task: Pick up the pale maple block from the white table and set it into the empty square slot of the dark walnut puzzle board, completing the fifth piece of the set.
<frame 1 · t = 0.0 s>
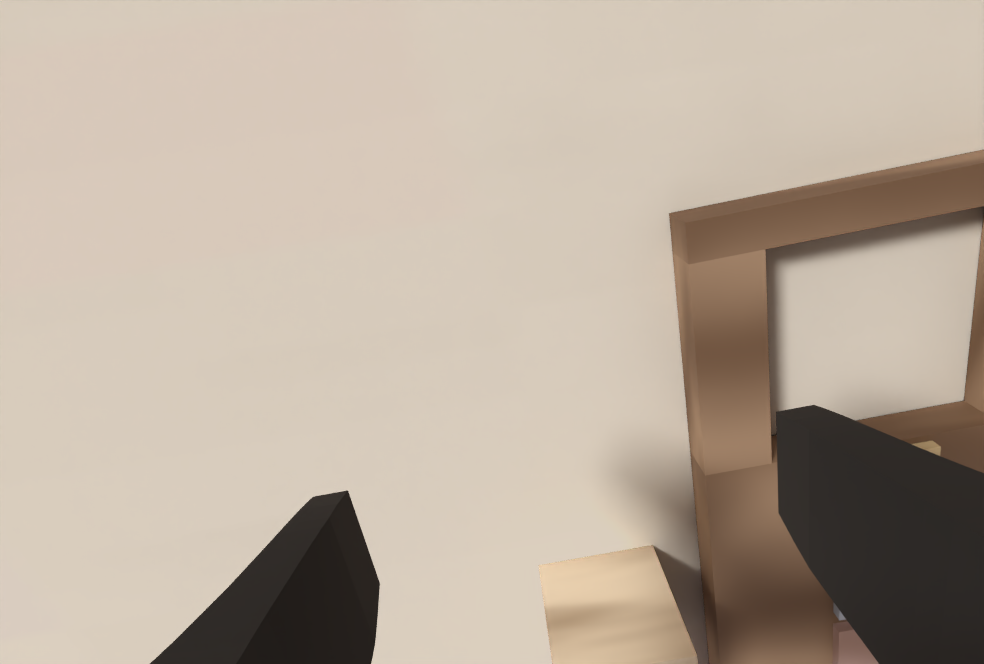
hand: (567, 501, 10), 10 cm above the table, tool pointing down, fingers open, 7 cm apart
maple block: (602, 597, 24), on the table
puzzle board: (855, 494, 23), on the table
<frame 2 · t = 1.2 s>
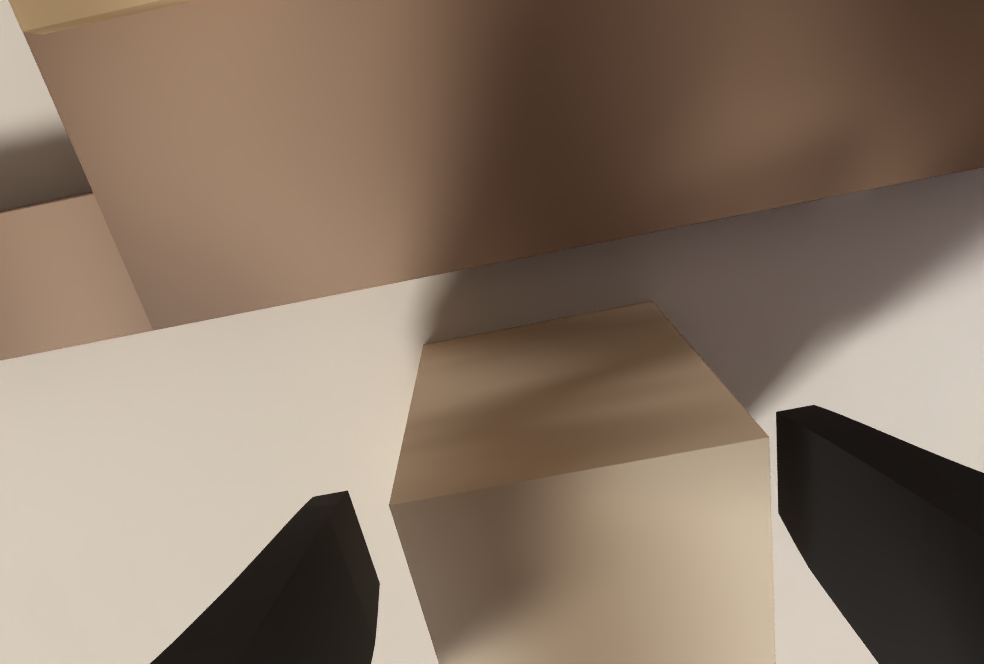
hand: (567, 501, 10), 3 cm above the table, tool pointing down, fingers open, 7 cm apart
maple block: (554, 421, 12), on the table
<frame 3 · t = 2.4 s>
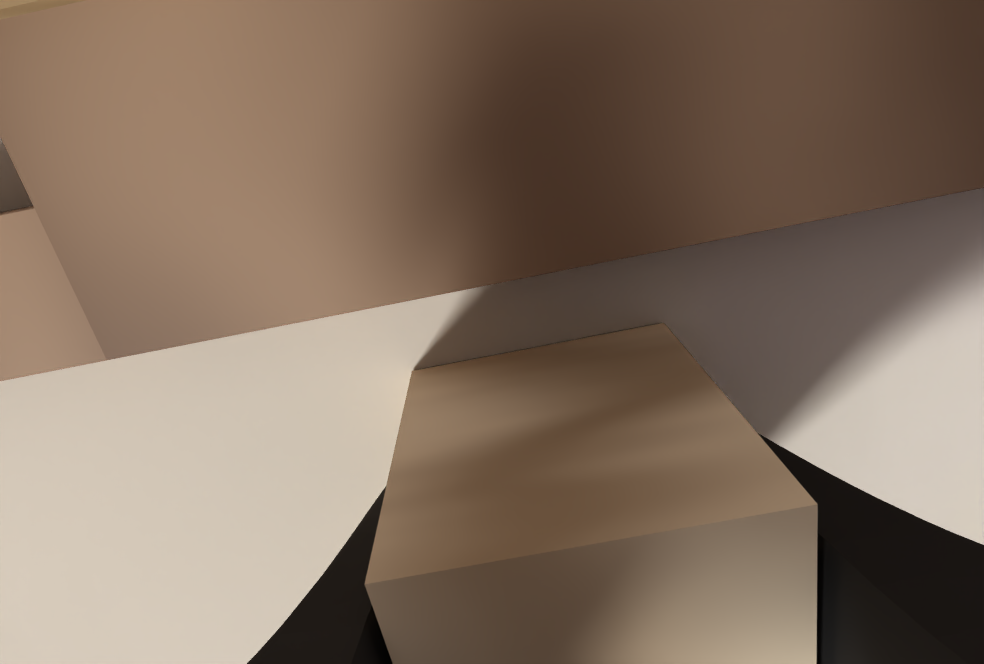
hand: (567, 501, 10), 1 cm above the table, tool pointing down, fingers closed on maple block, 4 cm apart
maple block: (556, 454, 11), on the table, touching gripper
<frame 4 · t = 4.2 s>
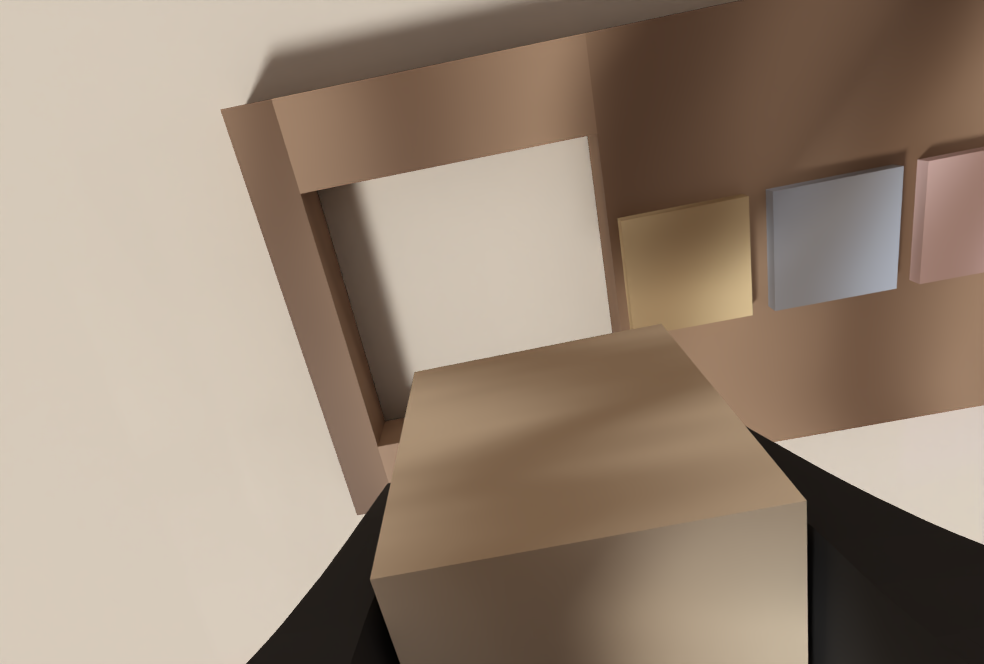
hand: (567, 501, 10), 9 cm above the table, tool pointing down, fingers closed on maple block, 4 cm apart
maple block: (556, 452, 12), point 7 cm above the table, touching gripper
puzzle board: (715, 242, 17), on the table
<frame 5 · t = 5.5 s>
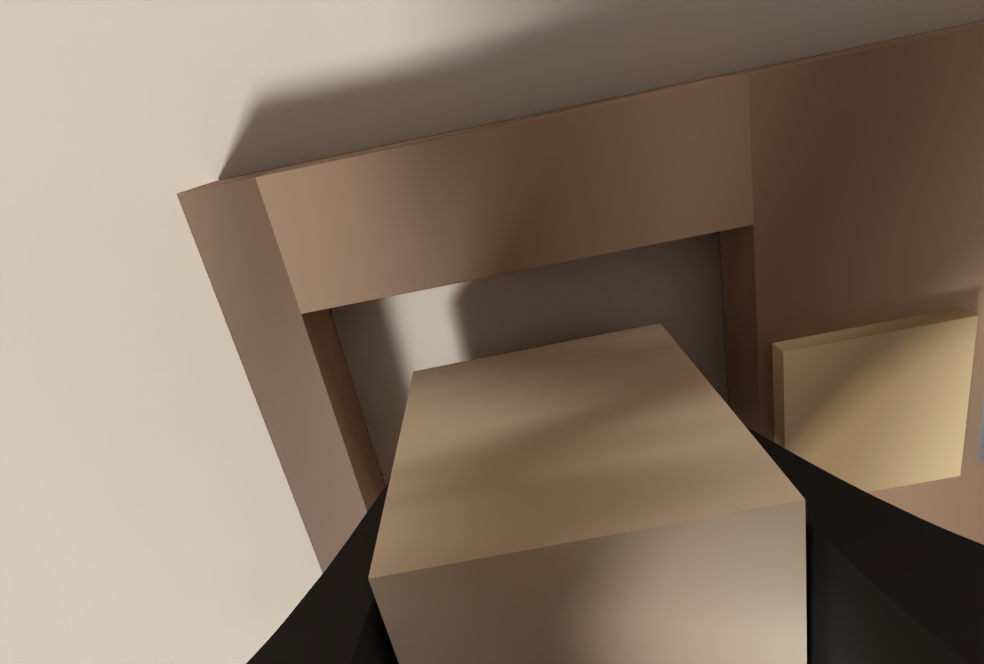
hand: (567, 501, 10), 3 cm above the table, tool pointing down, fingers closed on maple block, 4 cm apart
maple block: (555, 452, 12), point 1 cm above the table, touching gripper
puzzle board: (886, 358, 12), on the table
when the fingers open (3 cm above the table, at t = 6.4 s): maple block drops 1 cm, resting in puzzle board.
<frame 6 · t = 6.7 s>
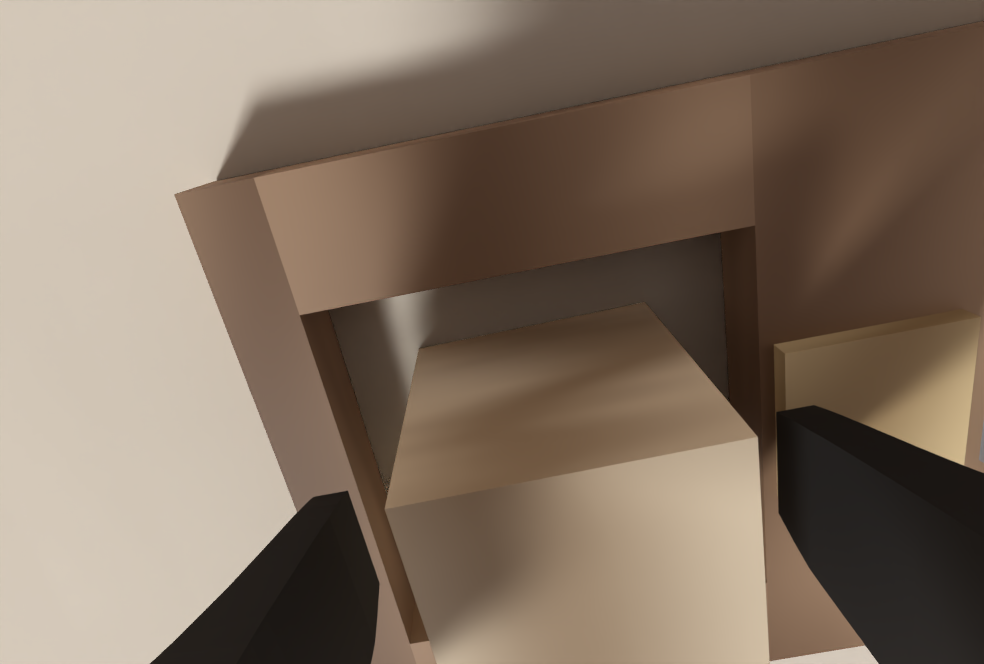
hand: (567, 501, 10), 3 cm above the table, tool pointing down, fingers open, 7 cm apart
maple block: (550, 422, 13), resting in puzzle board
puzzle board: (888, 359, 12), on the table
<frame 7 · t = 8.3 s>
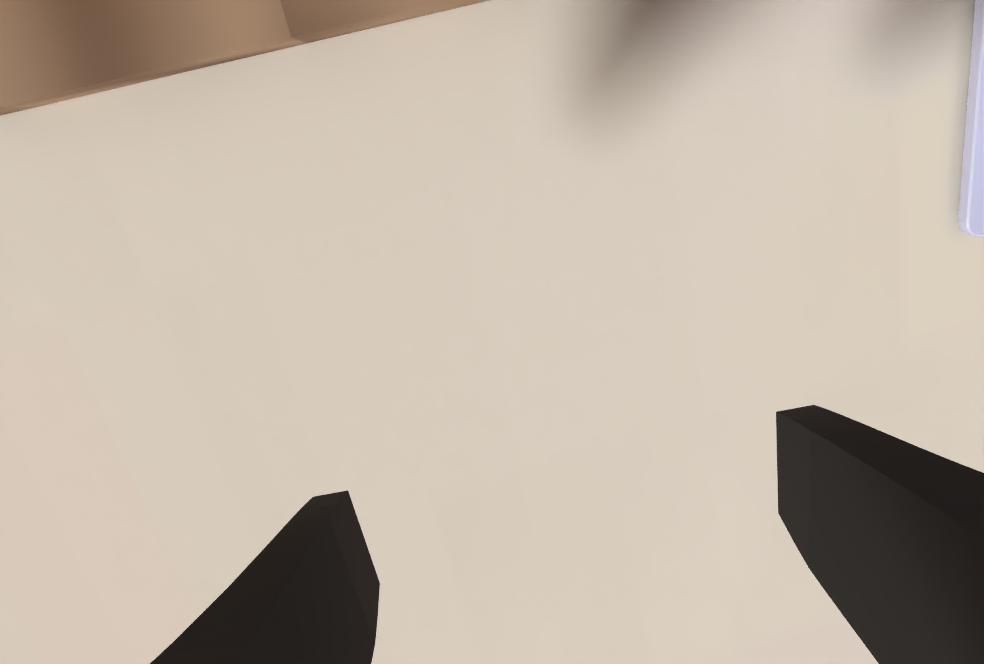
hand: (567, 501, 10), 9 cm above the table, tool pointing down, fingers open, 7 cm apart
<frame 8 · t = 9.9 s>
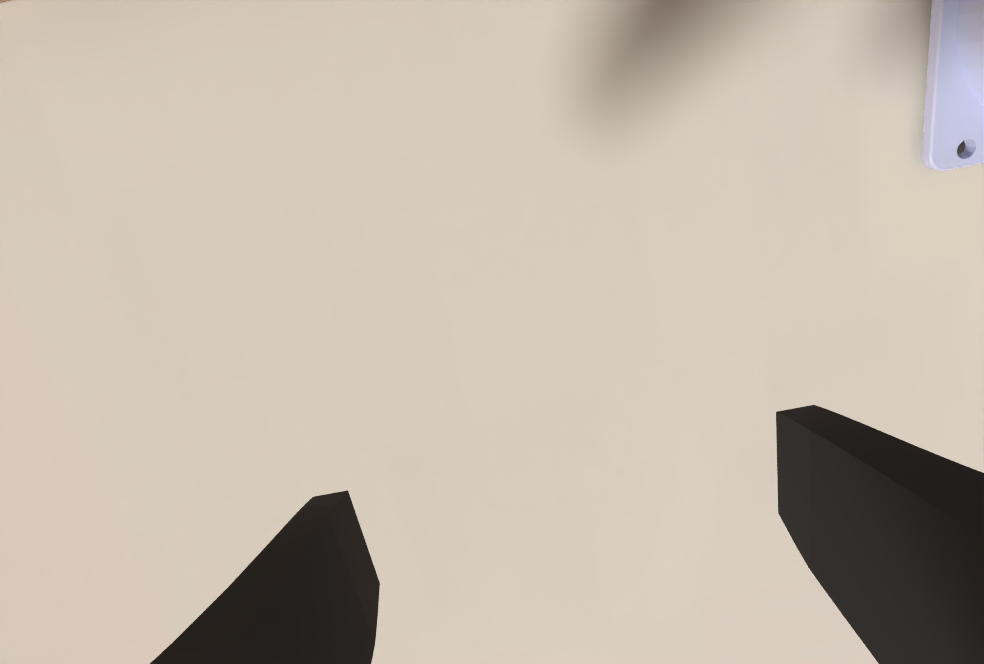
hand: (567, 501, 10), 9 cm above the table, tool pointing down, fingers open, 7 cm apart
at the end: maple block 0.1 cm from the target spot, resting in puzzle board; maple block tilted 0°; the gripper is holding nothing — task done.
